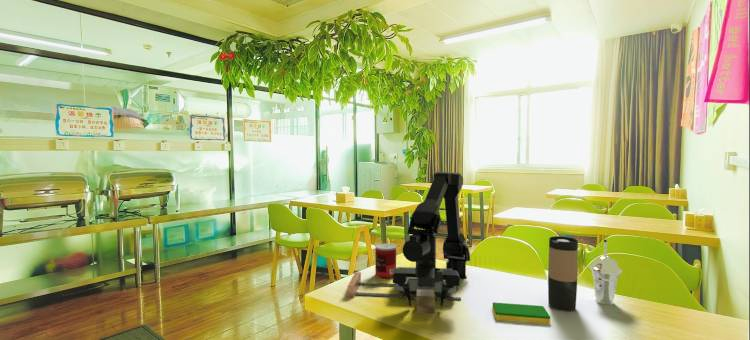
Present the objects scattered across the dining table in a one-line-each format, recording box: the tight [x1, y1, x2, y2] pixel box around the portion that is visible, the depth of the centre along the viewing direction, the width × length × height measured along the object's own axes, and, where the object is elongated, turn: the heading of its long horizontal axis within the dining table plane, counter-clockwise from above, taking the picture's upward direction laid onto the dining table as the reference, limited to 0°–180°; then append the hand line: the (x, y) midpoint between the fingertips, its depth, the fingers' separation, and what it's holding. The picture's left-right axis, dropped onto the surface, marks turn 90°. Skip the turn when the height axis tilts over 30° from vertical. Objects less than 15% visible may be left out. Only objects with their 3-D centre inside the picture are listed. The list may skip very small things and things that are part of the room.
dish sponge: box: [491, 301, 551, 325], centre depth 100 cm, size 7×14×2 cm, turn 79°
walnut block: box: [416, 289, 436, 315], centre depth 104 cm, size 5×5×5 cm
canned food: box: [374, 243, 397, 280], centre depth 133 cm, size 8×8×11 cm
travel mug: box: [547, 235, 579, 312], centre depth 106 cm, size 8×8×20 cm
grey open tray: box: [394, 266, 457, 297], centre depth 117 cm, size 19×12×6 cm, turn 83°
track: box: [347, 271, 462, 301], centre depth 118 cm, size 35×13×4 cm, turn 83°
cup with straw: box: [588, 239, 623, 306], centre depth 109 cm, size 8×9×20 cm
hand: (425, 306), depth 104 cm, fingers open, 8 cm apart
